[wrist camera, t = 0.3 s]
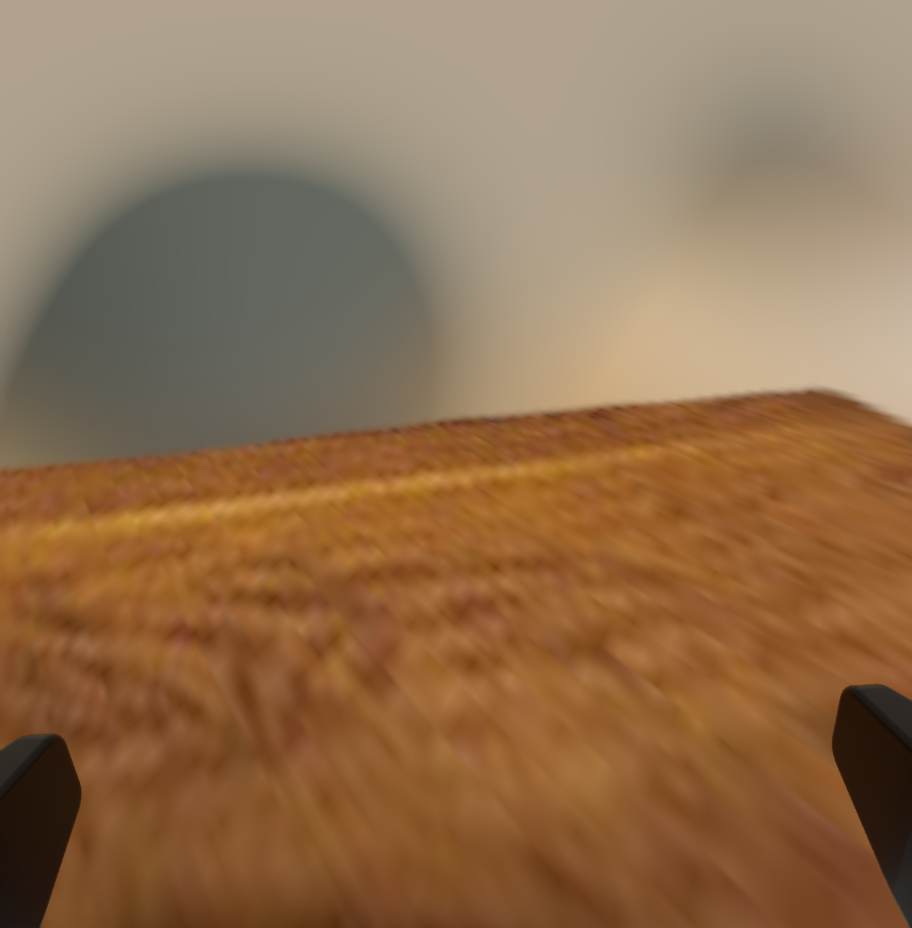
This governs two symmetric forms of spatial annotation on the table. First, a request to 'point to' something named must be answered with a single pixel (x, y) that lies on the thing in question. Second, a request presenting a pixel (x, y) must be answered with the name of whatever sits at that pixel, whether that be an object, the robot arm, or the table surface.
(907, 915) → the robot arm
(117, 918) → the table surface
